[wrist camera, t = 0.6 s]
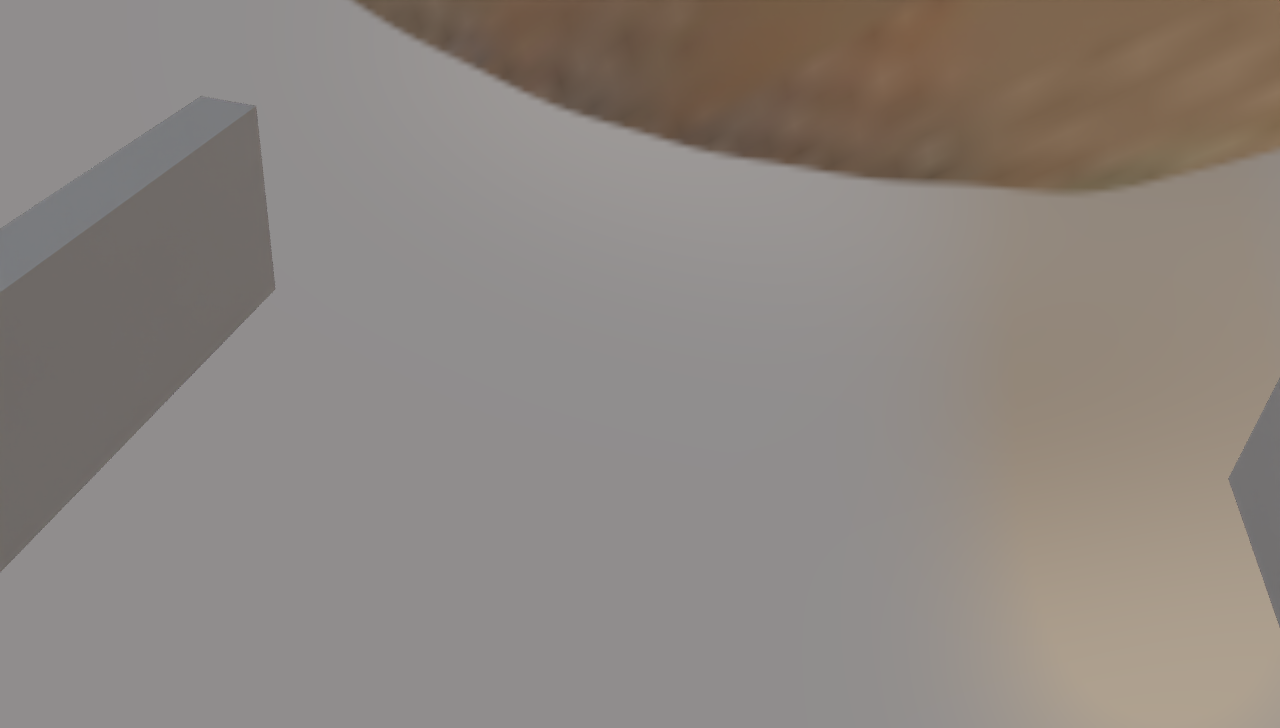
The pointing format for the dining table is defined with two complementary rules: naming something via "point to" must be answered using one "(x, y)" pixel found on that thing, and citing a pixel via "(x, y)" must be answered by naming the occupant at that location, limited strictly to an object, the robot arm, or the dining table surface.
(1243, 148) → the dining table surface
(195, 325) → the robot arm
